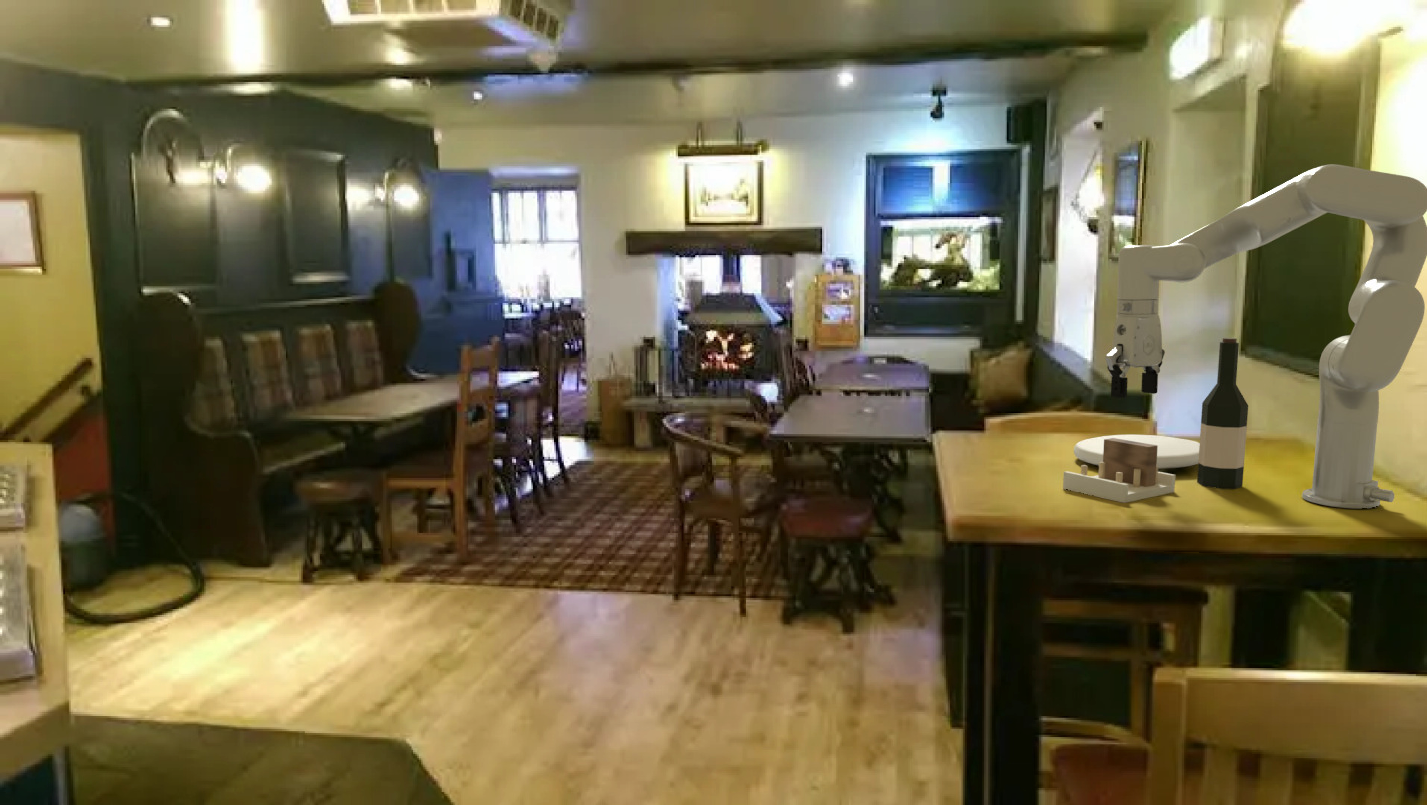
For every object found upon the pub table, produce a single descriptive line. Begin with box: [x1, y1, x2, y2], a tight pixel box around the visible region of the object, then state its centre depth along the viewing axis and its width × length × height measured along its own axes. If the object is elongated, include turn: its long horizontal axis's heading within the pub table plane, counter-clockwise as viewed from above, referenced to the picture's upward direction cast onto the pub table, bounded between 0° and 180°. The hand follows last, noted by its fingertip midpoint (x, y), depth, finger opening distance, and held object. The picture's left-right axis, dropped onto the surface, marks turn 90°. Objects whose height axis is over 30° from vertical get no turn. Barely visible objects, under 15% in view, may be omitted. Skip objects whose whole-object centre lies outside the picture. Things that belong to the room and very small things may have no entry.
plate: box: [1073, 434, 1200, 470], centre depth 227 cm, size 28×6×27 cm
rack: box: [1062, 462, 1176, 504], centre depth 201 cm, size 14×16×5 cm
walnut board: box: [1103, 438, 1158, 487], centre depth 202 cm, size 10×3×8 cm, turn 33°
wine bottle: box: [1196, 337, 1249, 490], centre depth 205 cm, size 8×8×30 cm
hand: (1134, 395), depth 200 cm, fingers open, 9 cm apart
